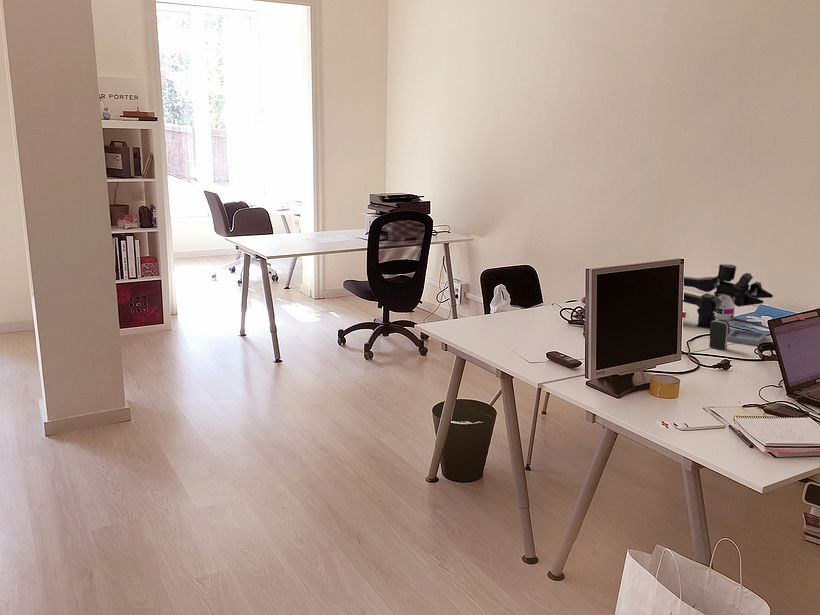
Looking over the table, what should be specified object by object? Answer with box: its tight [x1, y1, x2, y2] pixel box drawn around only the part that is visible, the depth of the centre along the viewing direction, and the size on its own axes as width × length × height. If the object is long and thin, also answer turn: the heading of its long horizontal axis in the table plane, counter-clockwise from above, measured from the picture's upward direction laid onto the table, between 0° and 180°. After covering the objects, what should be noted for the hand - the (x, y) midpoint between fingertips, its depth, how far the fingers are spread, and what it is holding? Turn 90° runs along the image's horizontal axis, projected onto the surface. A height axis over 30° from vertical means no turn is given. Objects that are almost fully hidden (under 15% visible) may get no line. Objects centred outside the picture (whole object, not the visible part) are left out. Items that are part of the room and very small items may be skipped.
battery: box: [708, 319, 731, 351], centre depth 281 cm, size 7×4×11 cm, turn 37°
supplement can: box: [714, 294, 736, 321], centre depth 322 cm, size 8×8×15 cm
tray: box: [727, 328, 767, 347], centre depth 291 cm, size 12×12×2 cm
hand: (768, 299), depth 291 cm, fingers open, 9 cm apart
